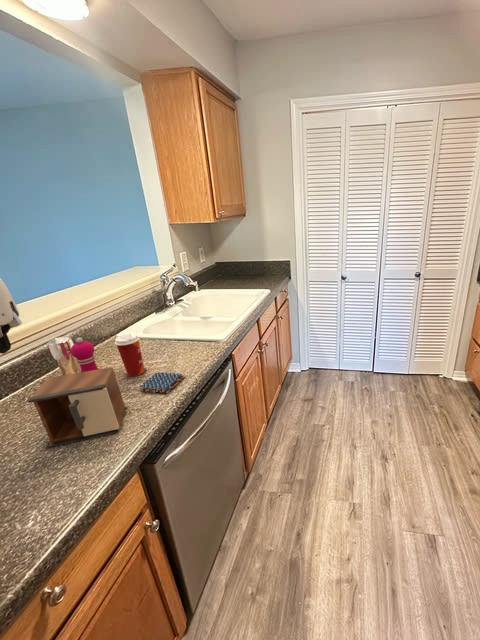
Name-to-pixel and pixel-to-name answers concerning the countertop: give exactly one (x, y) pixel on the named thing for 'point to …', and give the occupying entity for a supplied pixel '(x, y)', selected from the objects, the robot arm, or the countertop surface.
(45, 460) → the countertop surface
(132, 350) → the paper cup
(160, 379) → the woven mat
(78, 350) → the pepper mill
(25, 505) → the countertop surface
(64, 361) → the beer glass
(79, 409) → the sliding door
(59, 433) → the cabinet
